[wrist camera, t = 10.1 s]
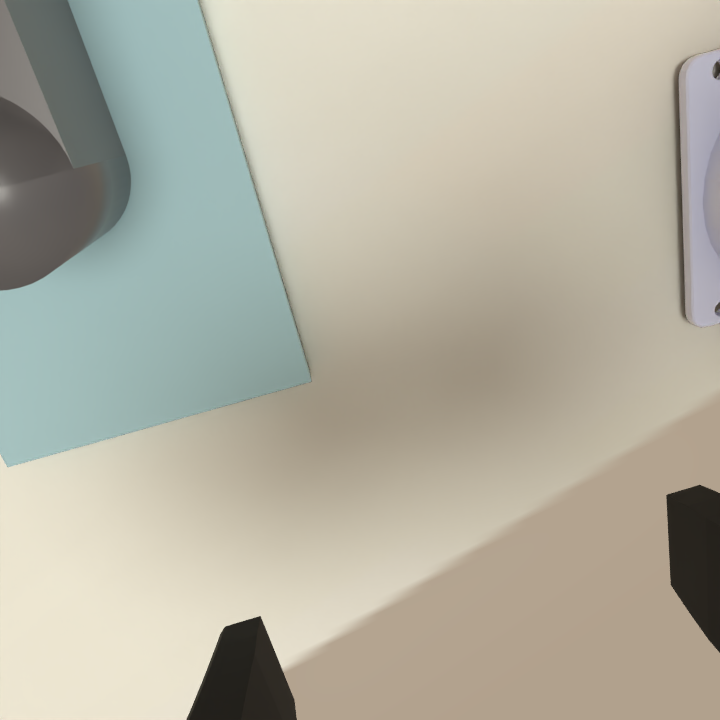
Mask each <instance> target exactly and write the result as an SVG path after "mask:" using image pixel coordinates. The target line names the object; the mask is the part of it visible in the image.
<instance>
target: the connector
mask: <svg viewBox="0 0 720 720" xmlns="http://www.w3.org/2000/svg"><path fill="white" fill-rule="evenodd" d="M130 190H131V174H130V168H129V164H128V160H127V157H126V154H125V151H124V149H123V146H122V143H121V141H120V138H119V136H118V133H117V130H116V128H115V125H114V122H113V120H112V117H111V114H110V112H109V109H108V106H107V104H106V101H105V98H104V96H103V93H102V90H101V88H100V85H99V82H98V80H97V77H96V74H95V72H94V69H93V66H92V64H91V61H90V58H89V56H88V53H87V50H86V48H85V45H84V42H83V40H82V37H81V34H80V32H79V29H78V26H77V24H76V21H75V19H74V16H73V13H72V11H71V8H70V5H69V3H68V0H0V291H3V290H11V289H16V288H21V287H24V286H27V285H30V284H33V283H34V282H36V281H38V280H40V279H42V278H44V277H45V276H47V275H48V274H50V273H51V272H53V271H54V270H55V269H57V268H58V267H60V266H61V265H62V264H64V263H65V262H66V261H68V260H69V259H71V258H72V257H73V256H75V255H76V254H78V253H79V252H80V251H82V250H83V249H85V248H86V247H87V246H89V245H90V244H91V243H93V242H94V241H96V240H97V239H98V238H100V237H101V236H103V235H104V234H105V233H107V232H108V231H109V230H110V229H111V228H113V227H114V226H115V225H116V223H117V222H118V221H119V219H120V218H121V216H122V215H123V213H124V211H125V209H126V206H127V204H128V201H129V196H130Z"/></svg>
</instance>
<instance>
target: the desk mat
mask: <svg viewBox="0 0 720 720" xmlns="http://www.w3.org/2000/svg"><path fill="white" fill-rule="evenodd" d="M68 3H69V5H70V8H71V11H72V13H73V16H74V19H75V21H76V24H77V26H78V29H79V32H80V34H81V37H82V40H83V42H84V45H85V48H86V50H87V53H88V56H89V58H90V61H91V64H92V66H93V69H94V72H95V74H96V77H97V80H98V82H99V85H100V88H101V90H102V93H103V96H104V98H105V101H106V104H107V106H108V109H109V112H110V114H111V117H112V120H113V122H114V125H115V128H116V130H117V133H118V136H119V138H120V141H121V143H122V146H123V149H124V151H125V154H126V157H127V160H128V164H129V168H130V174H131V190H130V196H129V201H128V204H127V206H126V209H125V211H124V213H123V215H122V216H121V218H120V219H119V221H118V222H117V223H116V225H115V226H114V227H113V228H111V229H110V230H109V231H108V232H107V233H105V234H104V235H103V236H101V237H100V238H98V239H97V240H96V241H94V242H93V243H91V244H90V245H89V246H87V247H86V248H85V249H83V250H82V251H80V252H79V253H78V254H76V255H75V256H73V257H72V258H71V259H69V260H68V261H66V262H65V263H64V264H62V265H61V266H60V267H58V268H57V269H55V270H54V271H53V272H51V273H50V274H48V275H47V276H45V277H44V278H42V279H40V280H38V281H36V282H34V283H33V284H30V285H27V286H24V287H21V288H16V289H11V290H3V291H0V454H1V456H2V458H3V460H4V462H5V463H6V465H7V467H10V466H14V465H17V464H21V463H25V462H28V461H32V460H35V459H39V458H42V457H46V456H49V455H53V454H57V453H60V452H64V451H67V450H71V449H74V448H78V447H81V446H85V445H88V444H92V443H96V442H99V441H103V440H106V439H110V438H113V437H117V436H120V435H124V434H128V433H131V432H135V431H138V430H142V429H145V428H149V427H152V426H156V425H159V424H163V423H167V422H170V421H174V420H177V419H181V418H184V417H188V416H191V415H195V414H199V413H202V412H206V411H209V410H213V409H216V408H220V407H223V406H227V405H230V404H234V403H238V402H241V401H245V400H248V399H252V398H255V397H259V396H262V395H266V394H270V393H273V392H277V391H280V390H284V389H287V388H291V387H294V386H298V385H301V384H305V383H309V382H312V381H311V376H310V371H309V367H308V364H307V361H306V357H305V354H304V351H303V347H302V344H301V341H300V337H299V334H298V331H297V327H296V324H295V321H294V317H293V314H292V310H291V307H290V304H289V300H288V297H287V294H286V290H285V287H284V284H283V280H282V277H281V274H280V270H279V267H278V264H277V260H276V257H275V254H274V250H273V247H272V243H271V240H270V237H269V233H268V230H267V227H266V223H265V220H264V217H263V213H262V210H261V207H260V203H259V200H258V197H257V193H256V190H255V187H254V183H253V180H252V177H251V173H250V170H249V166H248V163H247V160H246V156H245V153H244V150H243V146H242V143H241V140H240V136H239V133H238V130H237V126H236V123H235V120H234V116H233V113H232V110H231V106H230V103H229V99H228V96H227V93H226V89H225V86H224V83H223V79H222V76H221V73H220V69H219V66H218V63H217V59H216V56H215V53H214V49H213V46H212V43H211V39H210V36H209V32H208V29H207V26H206V22H205V19H204V16H203V12H202V9H201V6H200V2H199V0H68Z"/></svg>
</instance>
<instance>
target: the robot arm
mask: <svg viewBox="0 0 720 720" xmlns="http://www.w3.org/2000/svg"><path fill="white" fill-rule="evenodd" d="M716 61H718V62H719V64H720V49H717V50H713V51H709V52H705V53H702V54H698V55H695V56H693V57H691V58H689V59H688V60H687V61H686V62H685V63H684V64H683V66H682V68H681V70H680V73H679V108H680V141H681V175H682V209H683V242H684V276H685V309H686V317H687V320H688V321H689V322H690V323H692V324H694V325H696V326H698V327H708V326H712V325H715V324H719V323H720V309H719V310H718V311H717V312H715V307H716V305H717V304H718V303H719V302H720V73H719V75H718V76H717V78H716V79H715V78H714V77H713V74H712V70H713V66H714V64H715V63H716ZM667 516H668V535H669V555H670V577H671V586H672V587H673V589H674V590H675V592H676V593H677V595H678V596H679V598H680V599H681V601H682V602H683V604H684V605H685V607H686V608H687V610H688V611H689V613H690V614H691V615H692V617H693V618H694V620H695V621H696V623H697V624H698V625H699V627H700V628H701V630H702V631H703V632H704V634H705V635H706V637H707V638H708V639H709V641H710V642H711V643H712V644H713V645H714V646H715V648H716V649H717V650H718V651H719V652H720V493H718V492H716V491H713V490H711V489H708V488H706V487H704V486H701V485H698V486H695V487H692V488H688V489H685V490H681V491H678V492H675V493H671V494H668V495H667ZM187 720H297V718H296V710H295V702H294V698H293V696H292V693H291V691H290V688H289V686H288V683H287V681H286V678H285V676H284V673H283V671H282V668H281V666H280V663H279V661H278V658H277V656H276V653H275V651H274V649H273V646H272V644H271V641H270V639H269V636H268V634H267V631H266V629H265V626H264V624H263V621H262V619H261V616H259V617H256V618H253V619H249V620H246V621H243V622H239V623H236V624H233V625H229V626H226V627H225V628H224V629H223V631H222V632H221V634H220V637H219V639H218V642H217V645H216V648H215V650H214V653H213V655H212V658H211V661H210V663H209V666H208V668H207V671H206V674H205V676H204V679H203V681H202V684H201V686H200V689H199V691H198V694H197V696H196V698H195V701H194V703H193V706H192V708H191V711H190V713H189V715H188V717H187Z"/></svg>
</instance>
